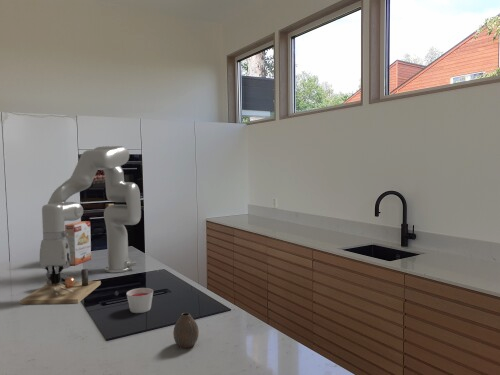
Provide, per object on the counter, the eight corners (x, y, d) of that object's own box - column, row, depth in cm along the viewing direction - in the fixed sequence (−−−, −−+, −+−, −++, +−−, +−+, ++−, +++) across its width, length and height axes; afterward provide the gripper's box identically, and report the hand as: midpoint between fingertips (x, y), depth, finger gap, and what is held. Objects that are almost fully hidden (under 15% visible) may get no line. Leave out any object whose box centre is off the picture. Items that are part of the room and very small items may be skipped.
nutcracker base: (100, 284, 169) (99, 265, 168) (78, 303, 146) (77, 281, 145) (51, 285, 168) (50, 266, 168) (20, 304, 145) (19, 282, 145)
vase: (175, 340, 114) (174, 310, 113) (199, 338, 114) (198, 309, 114) (172, 351, 107) (171, 319, 106) (198, 350, 107) (197, 318, 107)
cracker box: (76, 265, 202) (74, 224, 201) (65, 265, 203) (63, 224, 202) (92, 259, 216) (90, 220, 214) (82, 258, 217) (80, 220, 216)
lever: (45, 277, 164) (45, 270, 164) (56, 275, 167) (56, 268, 167) (65, 288, 149) (65, 280, 149) (77, 286, 152) (77, 277, 152)
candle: (158, 306, 141) (158, 289, 141) (144, 316, 132) (143, 297, 132) (137, 304, 144) (136, 287, 143) (121, 313, 135) (120, 294, 135)
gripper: (77, 234, 156) (79, 280, 157) (39, 234, 156) (41, 280, 157) (69, 237, 148) (70, 285, 149) (29, 238, 148) (31, 286, 149)
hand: (55, 283), depth 153 cm, fingers closed
